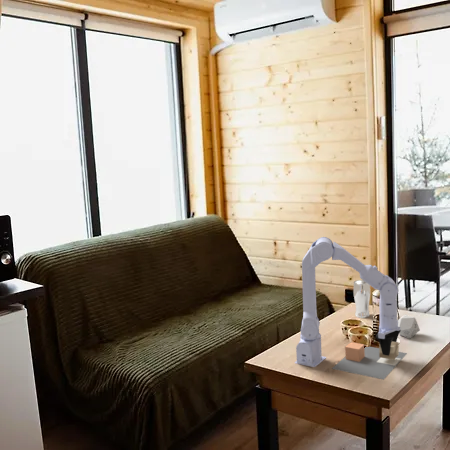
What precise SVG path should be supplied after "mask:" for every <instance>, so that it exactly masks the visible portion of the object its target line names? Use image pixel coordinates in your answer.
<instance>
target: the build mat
mask: <svg viewBox="0 0 450 450" xmlns="http://www.w3.org/2000/svg"><path fill="white" fill-rule="evenodd" d="M364 350H365V357H364V358H363V359H362V360H361V361H360V362H358V361H353V360H347V359H346V355H345V356H344V357H343V358H342V359H341V360H340V361H338V362H337V363H336V364H335V365H334V366H333V367H332V368H331V369H332V370H336V371H340V372H346V373H350V374H354V375H360V376H364V377H365V376H366V377H370V378H375V379H379V380H383V381H384V380H385V379H386V378H387V377H388V375H390V373H392V371H393V370H394V369H395V368H396V366H397V365H398V364H400V362H401V361H402V360H403V358H404V357H405V356H406V355H407V354H408V353H407V352H403V351H402V352H401V351H399V355H398V356H397V357H396V358H395V359H394V360H392V359H386V358H381V357H379V347H373V346H369V347H365V348H364Z"/></svg>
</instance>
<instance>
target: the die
mask: <svg viewBox="0 0 450 450" xmlns="http://www.w3.org/2000/svg"><path fill="white" fill-rule="evenodd" d="M397 320H398V327H401V331H400V333H399V335H400V336H402V337H404V338H408V339H411V338H412V337H414V336H415V335H416V334H417V333H418V332H420V331H421V329H420V327H419V323H418V321H417V319H416V317H415V316H412V315H408V314H403V315H402V316H401V317H400V318H398V319H397Z"/></svg>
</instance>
